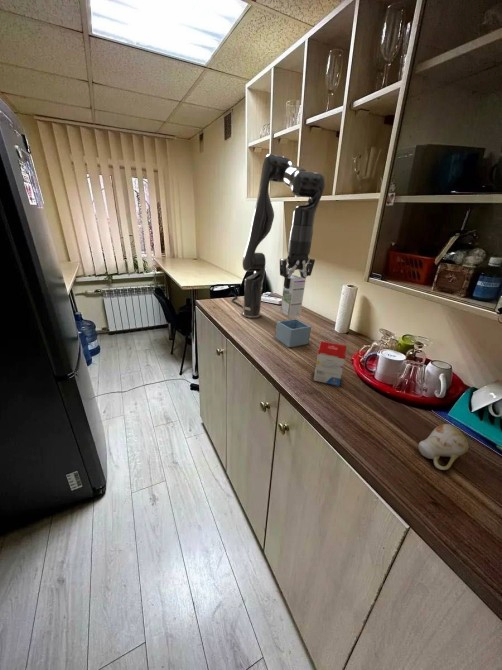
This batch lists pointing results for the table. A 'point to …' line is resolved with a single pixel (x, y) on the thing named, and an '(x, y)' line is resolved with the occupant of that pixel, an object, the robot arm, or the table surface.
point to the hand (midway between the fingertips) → (293, 287)
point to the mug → (444, 445)
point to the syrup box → (293, 297)
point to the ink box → (330, 363)
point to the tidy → (293, 332)
